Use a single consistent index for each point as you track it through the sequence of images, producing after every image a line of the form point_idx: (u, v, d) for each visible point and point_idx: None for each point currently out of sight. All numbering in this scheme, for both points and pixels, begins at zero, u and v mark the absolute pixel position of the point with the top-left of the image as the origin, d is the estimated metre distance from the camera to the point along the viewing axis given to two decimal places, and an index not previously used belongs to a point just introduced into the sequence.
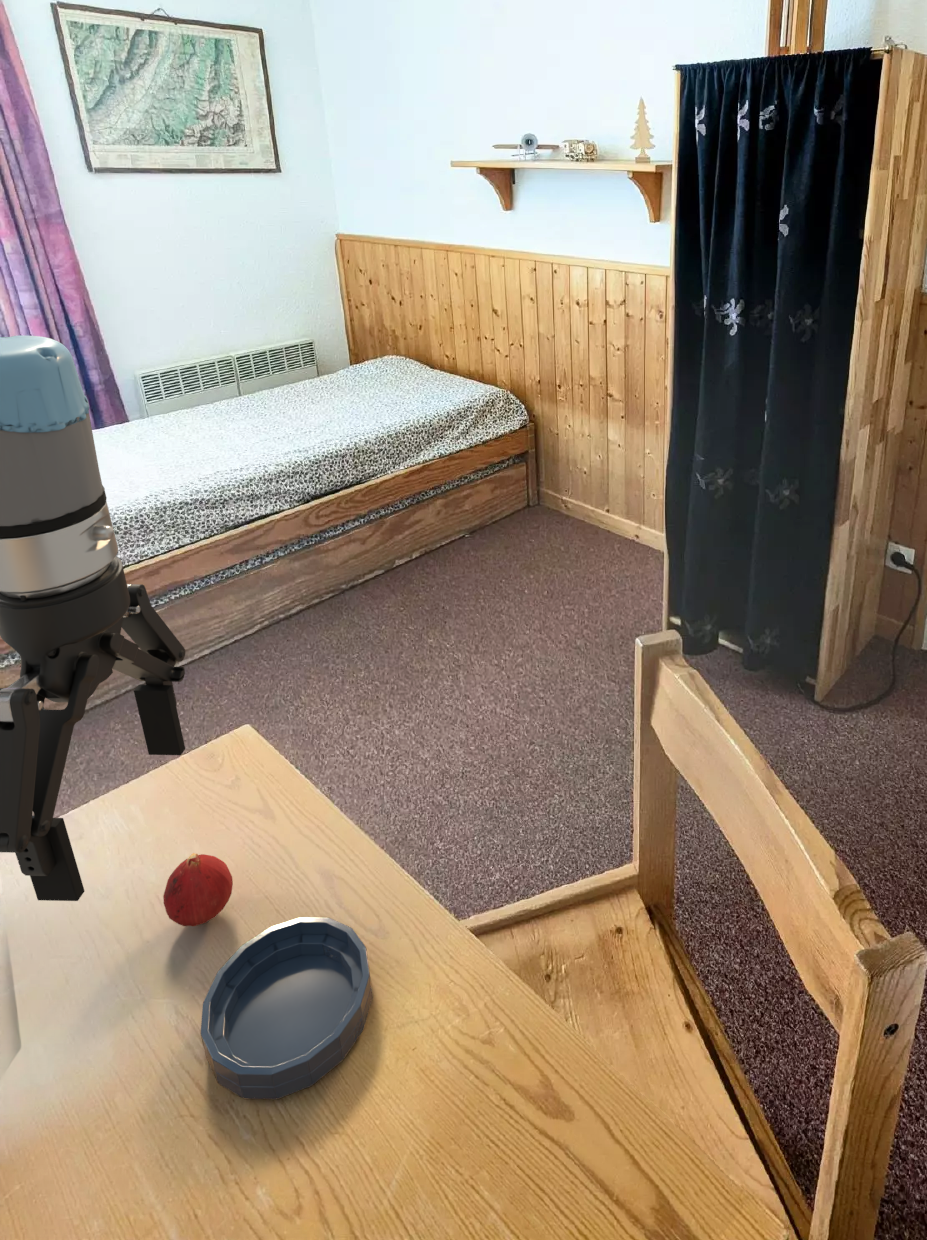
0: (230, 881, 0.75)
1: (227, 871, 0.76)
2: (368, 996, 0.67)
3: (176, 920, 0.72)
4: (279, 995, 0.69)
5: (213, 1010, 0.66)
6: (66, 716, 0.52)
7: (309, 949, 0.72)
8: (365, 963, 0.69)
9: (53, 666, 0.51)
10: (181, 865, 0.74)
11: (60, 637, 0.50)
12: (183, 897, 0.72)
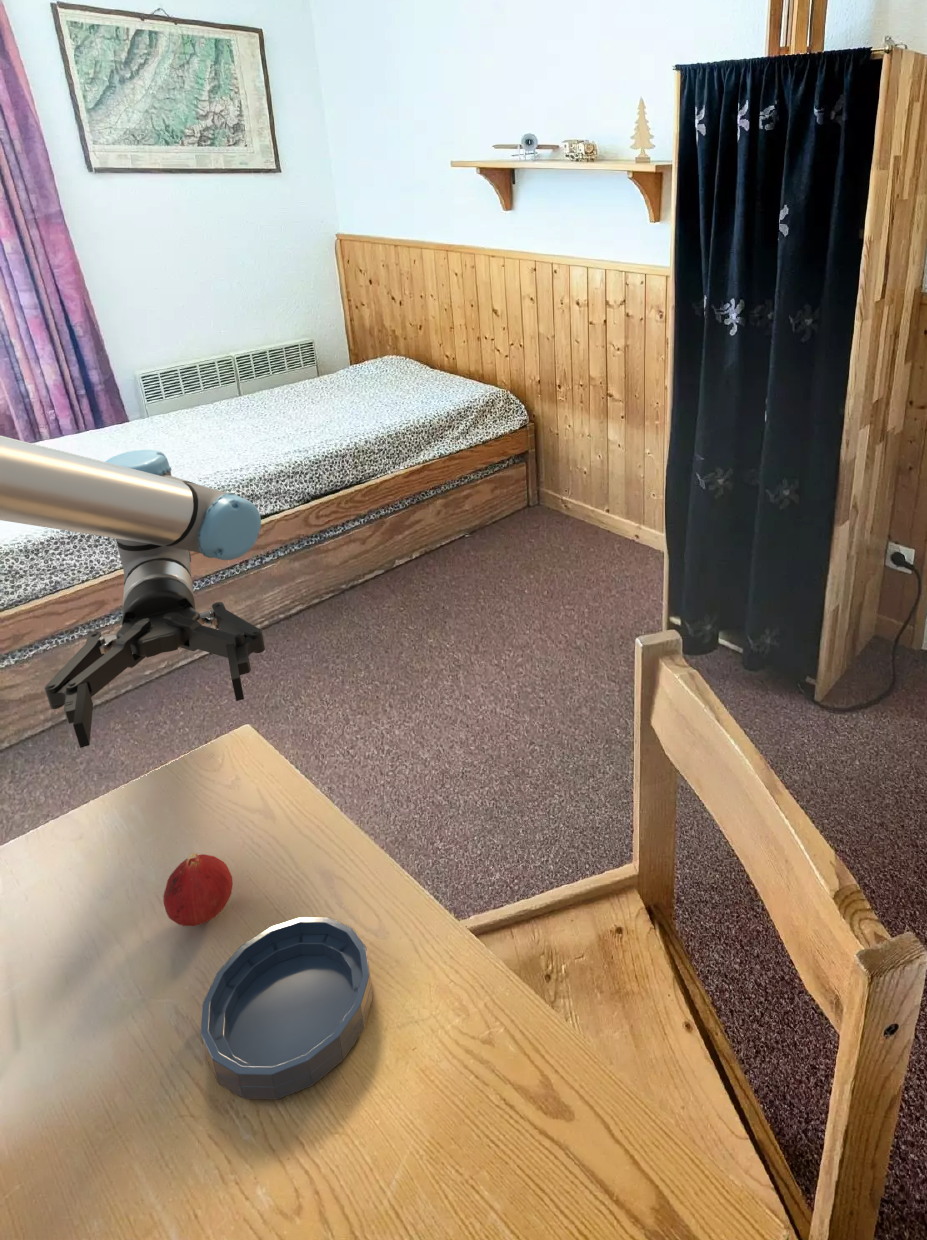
0: (230, 881, 0.75)
1: (227, 871, 0.76)
2: (368, 996, 0.67)
3: (176, 920, 0.72)
4: (279, 995, 0.69)
5: (213, 1010, 0.66)
6: None
7: (309, 949, 0.72)
8: (365, 963, 0.69)
9: None
10: (181, 865, 0.74)
11: None
12: (183, 897, 0.72)
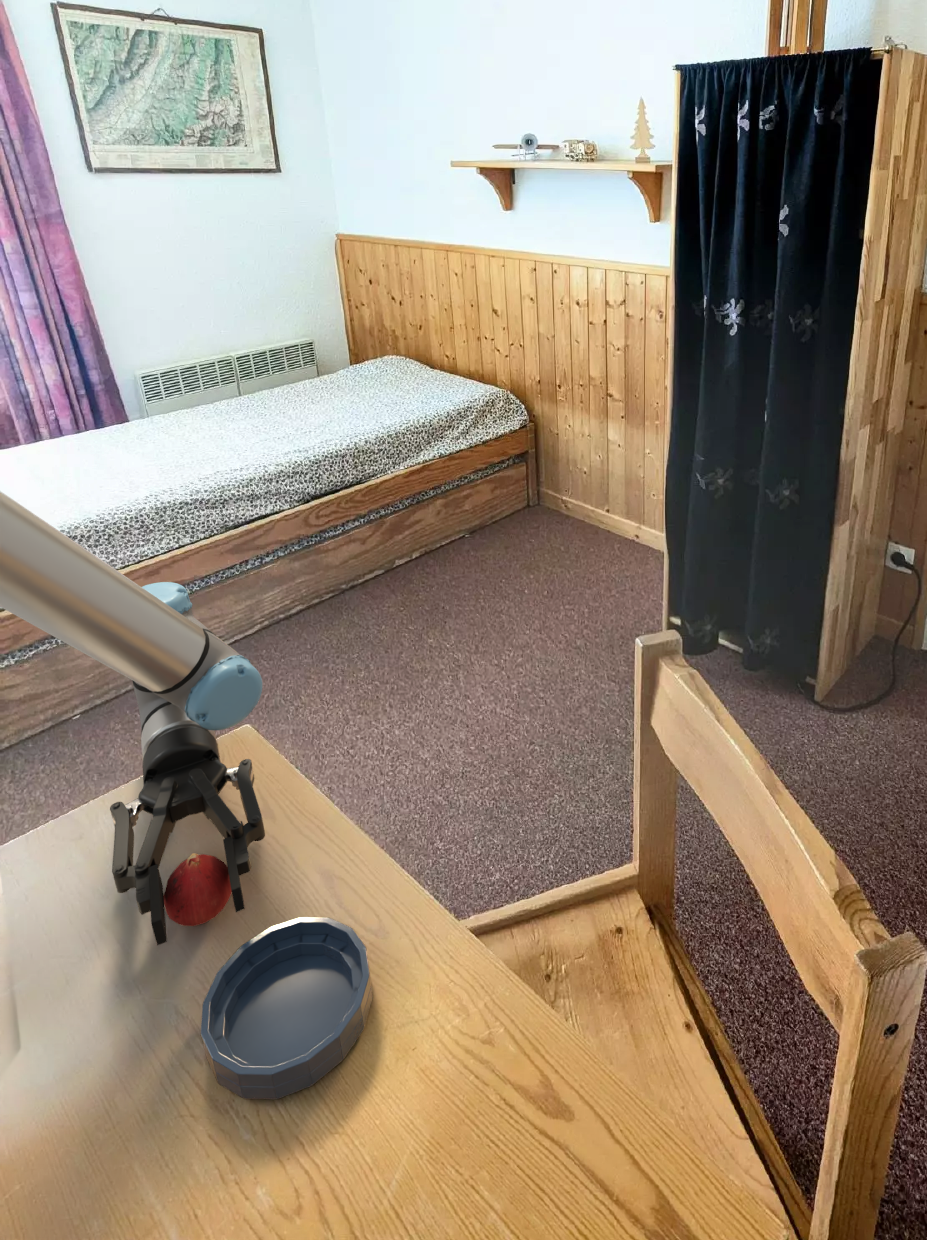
0: None
1: (227, 871, 0.76)
2: (368, 996, 0.67)
3: (176, 920, 0.72)
4: (279, 995, 0.69)
5: (213, 1010, 0.66)
6: None
7: (309, 949, 0.72)
8: (365, 963, 0.69)
9: None
10: (181, 865, 0.74)
11: None
12: (183, 897, 0.72)
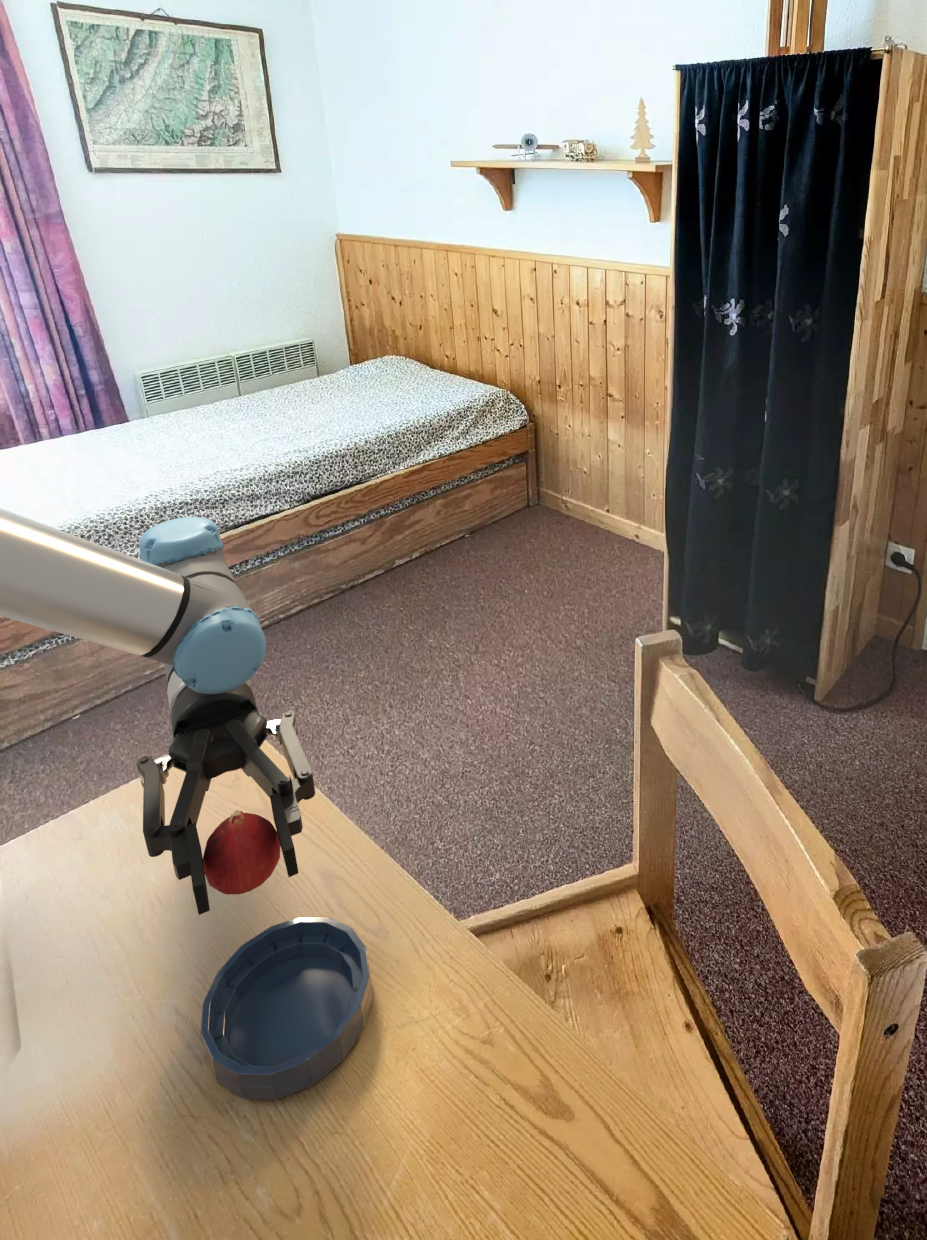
0: (278, 843, 0.65)
1: (275, 832, 0.65)
2: (368, 996, 0.67)
3: (218, 887, 0.62)
4: (279, 995, 0.69)
5: (213, 1010, 0.66)
6: None
7: (309, 949, 0.72)
8: (365, 963, 0.69)
9: None
10: (223, 824, 0.64)
11: None
12: (226, 860, 0.62)
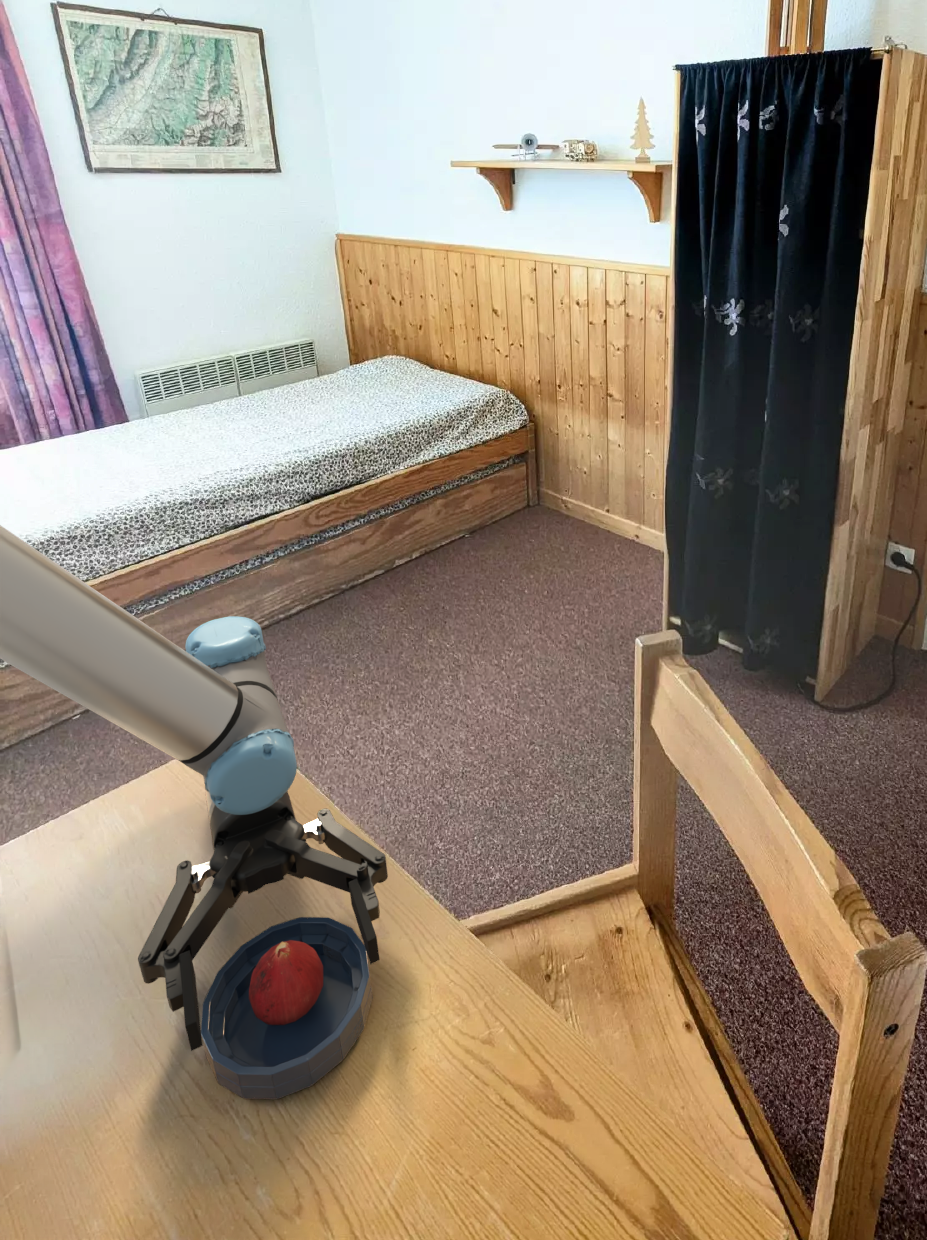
0: (322, 971, 0.67)
1: (318, 960, 0.67)
2: (368, 996, 0.67)
3: (265, 1020, 0.64)
4: None
5: (213, 1010, 0.66)
6: None
7: None
8: (365, 963, 0.69)
9: None
10: (269, 955, 0.65)
11: None
12: (273, 994, 0.63)
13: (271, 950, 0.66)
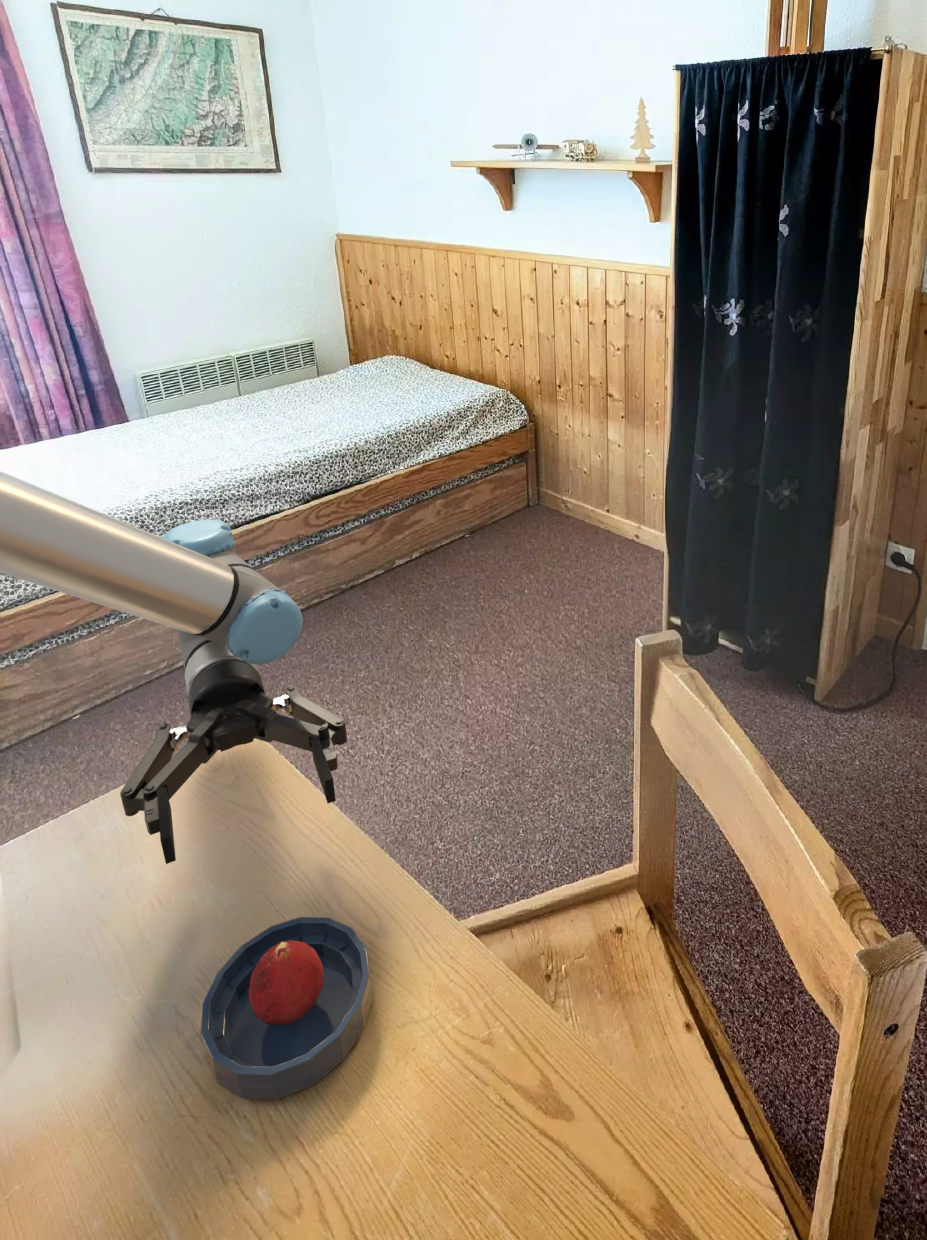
0: (322, 971, 0.67)
1: (318, 960, 0.67)
2: (368, 996, 0.67)
3: (265, 1020, 0.64)
4: None
5: (213, 1010, 0.66)
6: None
7: None
8: (365, 963, 0.69)
9: None
10: (269, 955, 0.65)
11: None
12: (273, 994, 0.63)
13: (271, 950, 0.66)
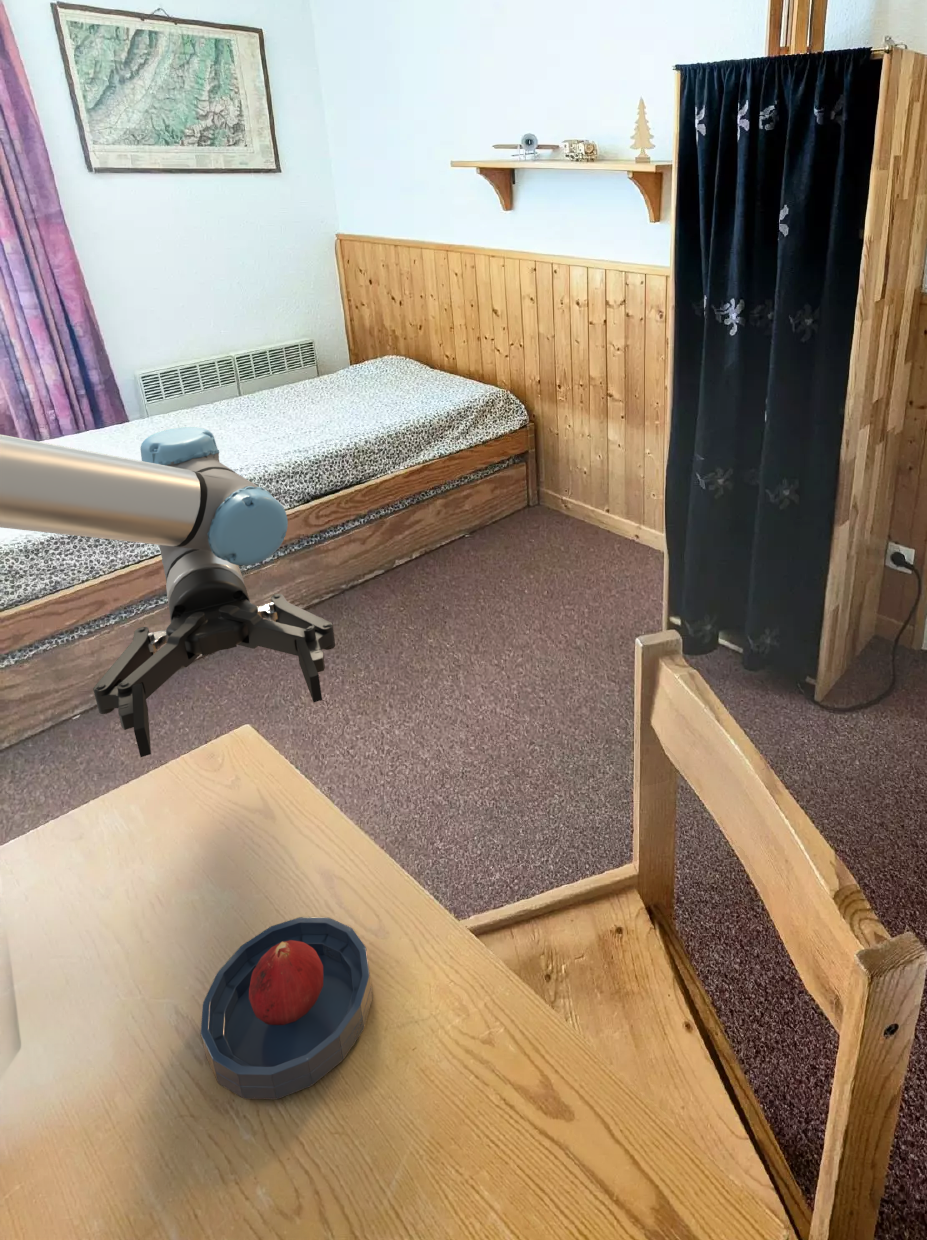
0: (322, 971, 0.67)
1: (318, 960, 0.67)
2: (368, 996, 0.67)
3: (265, 1020, 0.64)
4: None
5: (213, 1010, 0.66)
6: None
7: None
8: (365, 963, 0.69)
9: None
10: (269, 955, 0.65)
11: None
12: (273, 994, 0.63)
13: (271, 950, 0.66)
